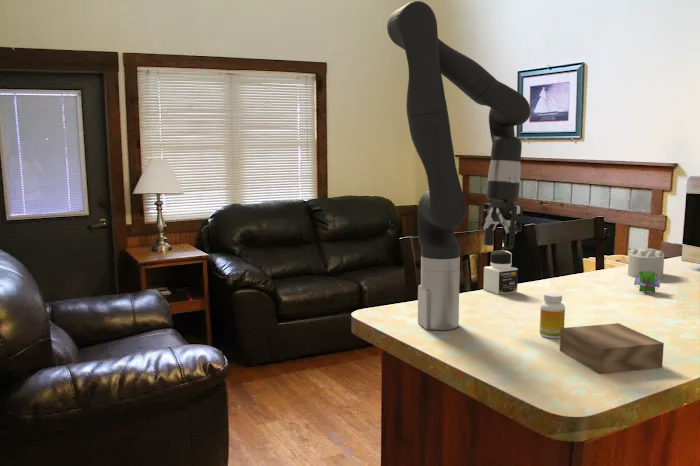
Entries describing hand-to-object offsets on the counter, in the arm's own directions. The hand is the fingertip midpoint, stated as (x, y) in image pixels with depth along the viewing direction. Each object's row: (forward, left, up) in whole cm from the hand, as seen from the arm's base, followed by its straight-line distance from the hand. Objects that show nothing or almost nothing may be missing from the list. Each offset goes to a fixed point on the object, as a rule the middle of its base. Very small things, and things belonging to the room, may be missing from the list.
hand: (498, 247), depth 154 cm
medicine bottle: (+16, +29, -19) cm, 38 cm away
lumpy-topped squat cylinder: (+71, +36, -19) cm, 82 cm away
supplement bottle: (+8, -13, -19) cm, 24 cm away
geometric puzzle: (+56, +16, -19) cm, 61 cm away
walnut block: (+11, -30, -19) cm, 37 cm away
